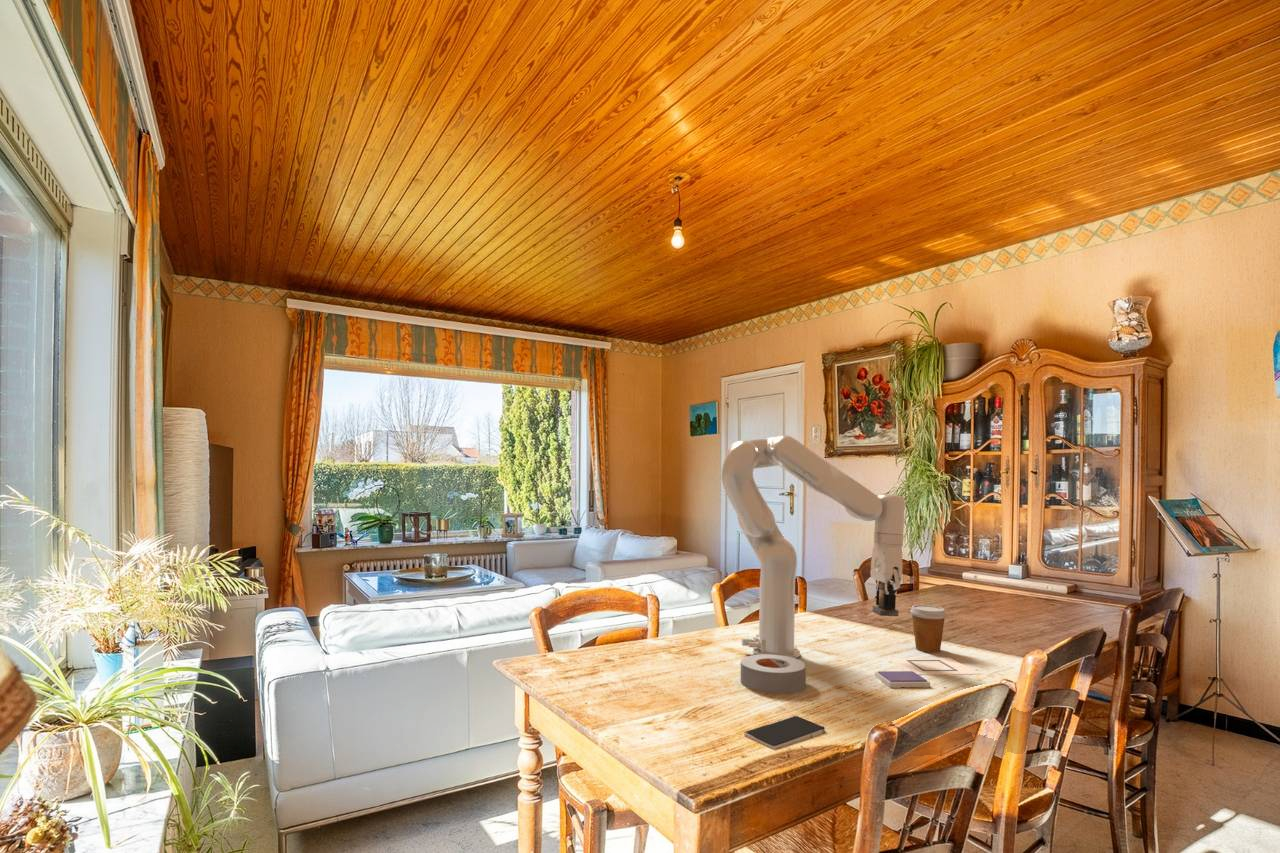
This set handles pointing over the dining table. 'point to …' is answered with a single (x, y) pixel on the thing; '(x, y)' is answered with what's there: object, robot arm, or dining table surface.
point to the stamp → (880, 609)
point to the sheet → (932, 666)
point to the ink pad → (901, 679)
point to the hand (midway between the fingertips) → (885, 606)
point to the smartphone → (785, 732)
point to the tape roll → (773, 674)
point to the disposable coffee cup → (928, 627)
